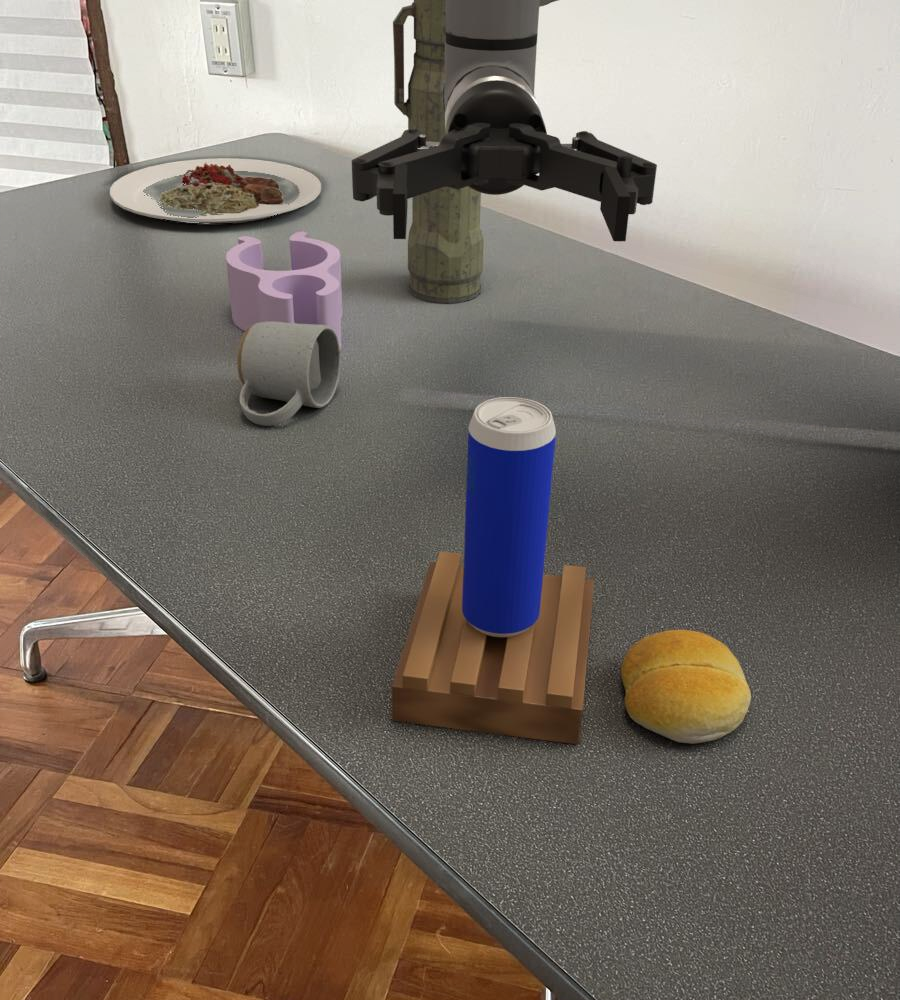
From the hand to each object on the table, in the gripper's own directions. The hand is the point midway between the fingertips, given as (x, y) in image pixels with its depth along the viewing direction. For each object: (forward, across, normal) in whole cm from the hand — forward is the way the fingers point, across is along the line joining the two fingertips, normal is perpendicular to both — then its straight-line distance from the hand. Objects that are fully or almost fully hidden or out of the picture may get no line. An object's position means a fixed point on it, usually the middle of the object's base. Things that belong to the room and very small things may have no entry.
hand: (510, 218), depth 65 cm
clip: (-49, +20, -27) cm, 59 cm away
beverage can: (+10, 0, -24) cm, 25 cm away
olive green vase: (-60, +3, -27) cm, 66 cm away
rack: (+10, 0, -27) cm, 29 cm away
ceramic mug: (-29, +19, -27) cm, 44 cm away
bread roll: (+13, -12, -28) cm, 33 cm away
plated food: (-94, +36, -27) cm, 104 cm away
